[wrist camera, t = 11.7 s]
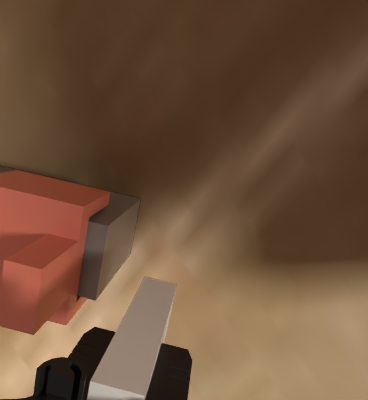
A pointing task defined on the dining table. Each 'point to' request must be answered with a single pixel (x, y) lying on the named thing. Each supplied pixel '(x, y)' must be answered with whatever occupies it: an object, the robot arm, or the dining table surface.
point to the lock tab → (42, 248)
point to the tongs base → (105, 241)
